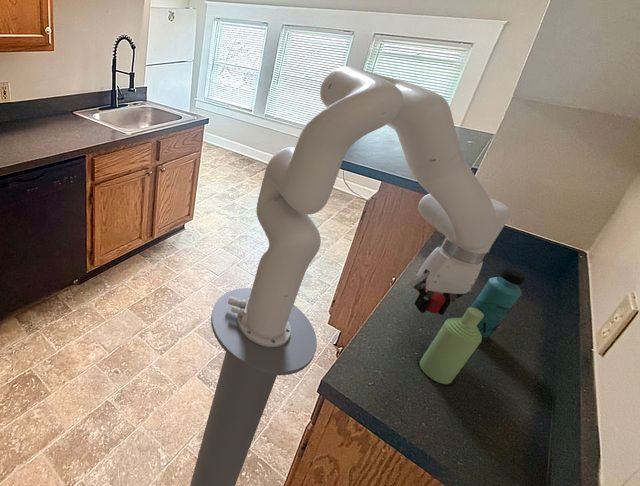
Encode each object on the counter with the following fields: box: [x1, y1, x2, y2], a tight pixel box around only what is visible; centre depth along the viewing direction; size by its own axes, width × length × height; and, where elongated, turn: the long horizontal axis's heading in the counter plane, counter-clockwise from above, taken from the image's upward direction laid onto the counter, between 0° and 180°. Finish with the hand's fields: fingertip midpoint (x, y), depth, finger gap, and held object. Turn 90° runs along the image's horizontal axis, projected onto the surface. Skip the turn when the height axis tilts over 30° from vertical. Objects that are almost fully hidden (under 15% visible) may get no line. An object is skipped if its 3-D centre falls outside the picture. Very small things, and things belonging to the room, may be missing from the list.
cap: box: [426, 290, 446, 314], centre depth 91 cm, size 4×4×4 cm
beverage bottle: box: [469, 266, 526, 338], centre depth 92 cm, size 6×7×20 cm
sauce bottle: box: [419, 306, 484, 385], centre depth 81 cm, size 6×6×18 cm
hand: (428, 308), depth 92 cm, fingers closed on cap, 3 cm apart
